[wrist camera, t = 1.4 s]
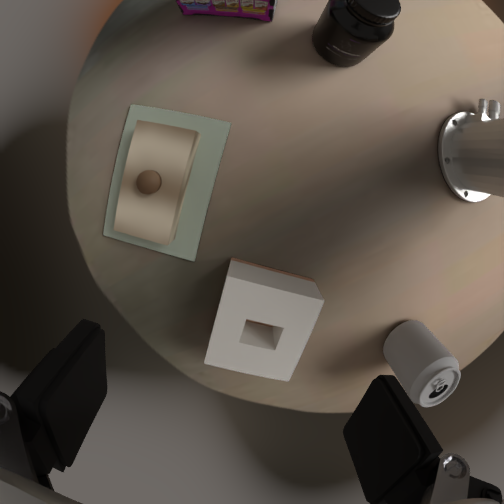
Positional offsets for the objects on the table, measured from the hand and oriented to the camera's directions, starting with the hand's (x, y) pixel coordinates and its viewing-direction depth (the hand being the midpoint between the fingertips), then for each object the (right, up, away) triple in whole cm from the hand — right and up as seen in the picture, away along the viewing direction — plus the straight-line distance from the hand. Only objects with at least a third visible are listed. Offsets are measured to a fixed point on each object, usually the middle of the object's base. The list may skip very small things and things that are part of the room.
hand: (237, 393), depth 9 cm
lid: (-10, +12, +22) cm, 27 cm away
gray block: (+1, -2, +26) cm, 27 cm away
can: (+23, -8, +28) cm, 37 cm away
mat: (-10, +13, +22) cm, 27 cm away
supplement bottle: (+11, +29, +18) cm, 36 cm away
